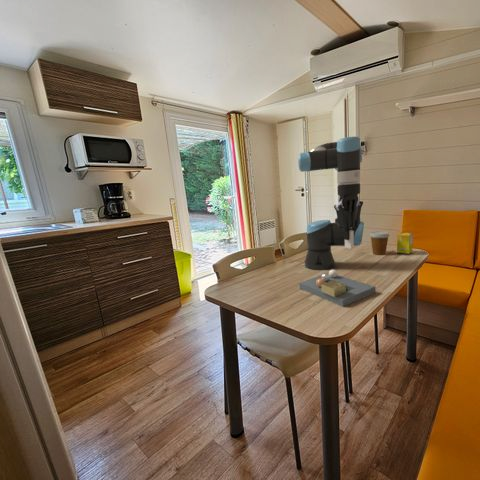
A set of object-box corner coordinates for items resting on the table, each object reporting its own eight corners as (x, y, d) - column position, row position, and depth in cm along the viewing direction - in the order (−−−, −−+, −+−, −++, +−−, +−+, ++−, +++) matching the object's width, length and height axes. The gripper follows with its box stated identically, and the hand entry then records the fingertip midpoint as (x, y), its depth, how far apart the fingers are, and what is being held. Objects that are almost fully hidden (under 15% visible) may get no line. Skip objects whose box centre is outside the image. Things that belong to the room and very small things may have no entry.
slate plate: (299, 288, 110) (299, 282, 110) (329, 277, 119) (329, 272, 118) (342, 306, 91) (342, 299, 91) (375, 292, 100) (375, 286, 99)
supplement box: (400, 251, 149) (400, 232, 146) (412, 252, 144) (413, 233, 142) (396, 253, 145) (397, 234, 143) (409, 255, 140) (409, 235, 138)
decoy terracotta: (314, 286, 104) (314, 278, 103) (320, 284, 106) (320, 276, 105) (320, 289, 101) (320, 281, 100) (327, 287, 103) (326, 278, 102)
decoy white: (327, 277, 113) (327, 269, 112) (332, 275, 114) (332, 267, 114) (333, 279, 110) (333, 271, 109) (339, 277, 111) (339, 269, 111)
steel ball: (319, 281, 109) (319, 273, 109) (325, 279, 111) (325, 271, 110) (325, 283, 106) (325, 275, 106) (331, 281, 108) (331, 273, 107)
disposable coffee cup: (381, 256, 141) (381, 235, 139) (366, 253, 150) (366, 233, 147) (392, 253, 146) (393, 232, 143) (376, 250, 154) (377, 230, 152)
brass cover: (321, 291, 98) (321, 284, 98) (332, 287, 101) (332, 280, 100) (334, 296, 93) (334, 289, 92) (345, 292, 96) (345, 284, 95)
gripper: (344, 184, 87) (345, 253, 92) (370, 181, 93) (369, 246, 98) (327, 185, 93) (328, 249, 98) (351, 182, 99) (352, 243, 104)
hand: (349, 247), depth 98 cm, fingers closed
